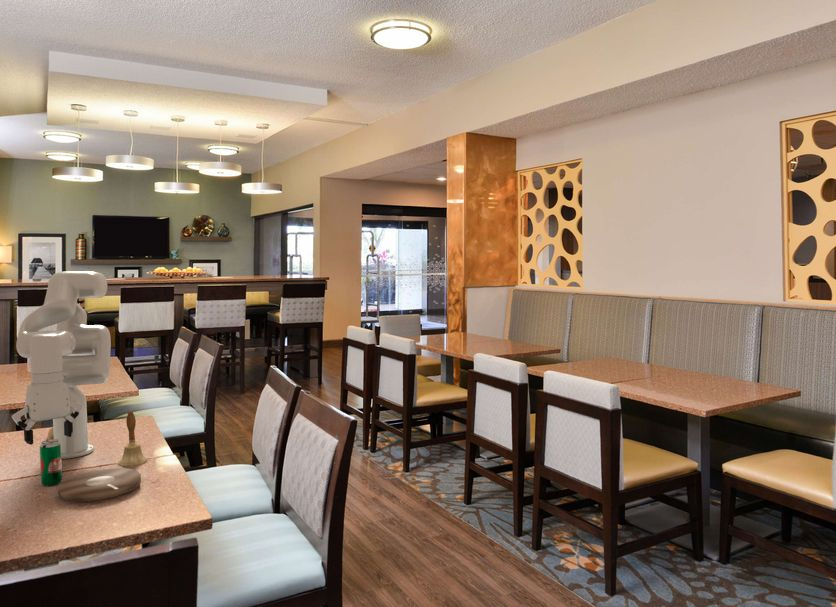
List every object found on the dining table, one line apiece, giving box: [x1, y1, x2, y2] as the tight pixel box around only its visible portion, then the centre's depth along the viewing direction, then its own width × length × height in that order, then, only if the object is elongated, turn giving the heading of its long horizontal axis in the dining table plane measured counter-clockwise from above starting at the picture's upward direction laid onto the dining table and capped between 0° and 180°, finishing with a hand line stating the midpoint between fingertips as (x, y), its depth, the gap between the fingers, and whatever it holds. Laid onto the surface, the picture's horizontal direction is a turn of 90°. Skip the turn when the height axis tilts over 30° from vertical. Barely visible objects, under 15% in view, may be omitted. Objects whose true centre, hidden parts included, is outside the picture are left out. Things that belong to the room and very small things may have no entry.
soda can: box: [39, 439, 63, 487], centre depth 168 cm, size 5×5×12 cm
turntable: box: [57, 467, 142, 502], centre depth 163 cm, size 20×20×2 cm
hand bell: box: [117, 410, 148, 467], centre depth 186 cm, size 8×8×16 cm
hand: (49, 439), depth 167 cm, fingers open, 9 cm apart
